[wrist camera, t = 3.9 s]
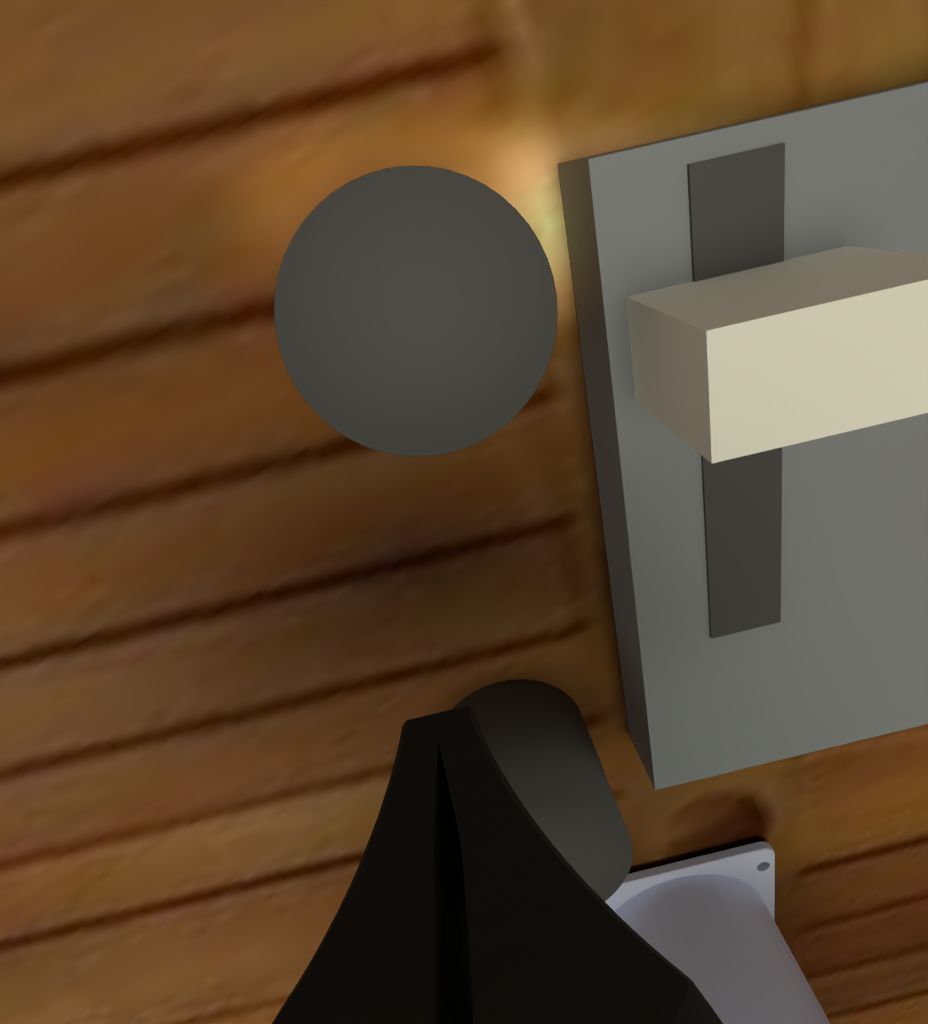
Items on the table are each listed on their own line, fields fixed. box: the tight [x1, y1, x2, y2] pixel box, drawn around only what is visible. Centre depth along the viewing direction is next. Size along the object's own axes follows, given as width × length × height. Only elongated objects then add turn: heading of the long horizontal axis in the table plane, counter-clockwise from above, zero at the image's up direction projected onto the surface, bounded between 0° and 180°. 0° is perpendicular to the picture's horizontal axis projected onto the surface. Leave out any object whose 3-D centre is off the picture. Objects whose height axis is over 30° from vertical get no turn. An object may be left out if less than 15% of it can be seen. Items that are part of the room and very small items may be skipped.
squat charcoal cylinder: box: [274, 166, 558, 457], centre depth 14 cm, size 5×5×5 cm
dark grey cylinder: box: [454, 680, 633, 901], centre depth 21 cm, size 5×5×5 cm
